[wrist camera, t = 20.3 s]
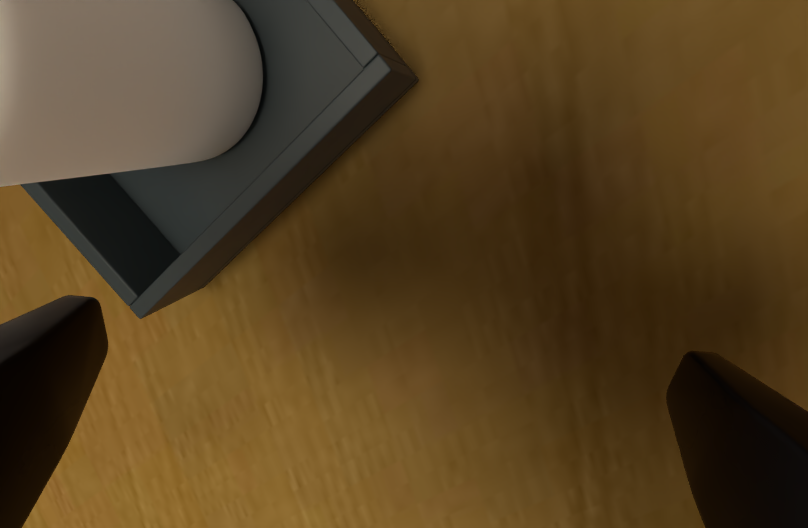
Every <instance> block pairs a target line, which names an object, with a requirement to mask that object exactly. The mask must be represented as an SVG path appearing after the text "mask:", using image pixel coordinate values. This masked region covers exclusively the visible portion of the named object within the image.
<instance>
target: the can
mask: <svg viewBox="0 0 808 528" xmlns="http://www.w3.org/2000/svg"><path fill="white" fill-rule="evenodd" d="M262 86H263V68H262V60H261V54H260V50H259V46H258V43H257V40H256V37H255V34H254V32H253V30H252V28H251V25H250V23H249V21H248V20H247V18H246V16H245V14H244V13H243V11H242V10H241V9H240V7H239V6H238V5H237V4H236V3H235V2H234V1H233V0H0V187H2V186H10V185H18V184H27V183H35V182H43V181H52V180H60V179H68V178H76V177H84V176H92V175H101V174H109V173H117V172H125V171H133V170H141V169H148V168H156V167H164V166H172V165H179V164H186V163H193V162H199V161H204V160H207V159H211V158H214V157H216V156H218V155H220V154H222V153H224V152H226V151H227V150H229V149H230V148H231V147H233V146H234V145H235V144H236V143H237V142H238V141H239V140H240V139H241V138H242V137H243V136H244V134H245V133H246V132H247V130H248V129H249V127H250V125H251V124H252V122H253V120H254V117H255V115H256V113H257V110H258V107H259V103H260V99H261V94H262Z"/></svg>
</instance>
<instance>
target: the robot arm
mask: <svg viewBox="0 0 808 528" xmlns="http://www.w3.org/2000/svg"><path fill="white" fill-rule="evenodd" d="M107 351H108V339H107V334H106V329H105V324H104V319H103V315H102V310H101V306H100V303H99V302H98V300H96V299H95V298H93V297H84V296H73V295H68V296H64V297H61V298H59V299H57V300H55V301H52V302H50V303H48V304H46V305H44V306H41V307H39V308H37V309H35V310H32V311H30V312H28V313H26V314H23V315H21V316H19V317H17V318H14V319H12V320H10V321H8V322H5V323H3V324H1V325H0V528H22V526H23V525H24V523H25V521H26V519H27V518H28V516H29V514H30V512H31V511H32V509H33V507H34V505H35V503H36V502H37V500H38V498H39V496H40V495H41V493H42V491H43V489H44V488H45V486H46V484H47V482H48V481H49V479H50V477H51V475H52V473H53V472H54V470H55V468H56V466H57V465H58V463H59V461H60V459H61V457H62V455H63V454H64V452H65V450H66V448H67V446H68V444H69V442H70V440H71V437H72V435H73V433H74V431H75V428H76V426H77V424H78V421H79V419H80V417H81V414H82V412H83V410H84V407H85V405H86V403H87V400H88V398H89V396H90V393H91V391H92V389H93V386H94V384H95V382H96V379H97V377H98V374H99V372H100V370H101V367H102V365H103V363H104V360H105V358H106V355H107ZM666 399H667V406H668V410H669V413H670V417H671V421H672V424H673V428H674V431H675V435H676V439H677V442H678V446H679V449H680V453H681V457H682V460H683V464H684V468H685V471H686V475H687V478H688V482H689V485H690V488H691V491H692V494H693V497H694V500H695V502H696V505H697V508H698V510H699V513H700V516H701V518H702V521H703V523H704V526H705V528H808V412H807V411H806V410H804V409H803V408H801V407H800V406H798V405H796V404H795V403H793V402H792V401H790V400H789V399H787V398H785V397H784V396H782V395H781V394H779V393H778V392H776V391H775V390H773V389H771V388H770V387H768V386H767V385H765V384H764V383H762V382H760V381H759V380H757V379H756V378H754V377H753V376H751V375H750V374H748V373H746V372H745V371H743V370H742V369H740V368H739V367H737V366H735V365H734V364H732V363H731V362H729V361H728V360H726V359H725V358H723V357H721V356H720V355H718V354H716V353H712V352H701V351H690V352H687V353H686V354H685V355H684V356H683V358H682V360H681V362H680V364H679V366H678V368H677V370H676V372H675V374H674V376H673V379H672V381H671V383H670V385H669V387H668V390H667V396H666Z"/></svg>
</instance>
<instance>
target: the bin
mask: <svg viewBox="0 0 808 528" xmlns="http://www.w3.org/2000/svg"><path fill="white" fill-rule="evenodd" d="M233 1H234V2H235V3H236V4H237V5H238V6H239V7H240V9H241V10H242V11H243V13H244V14H245V16H246V18H247V20H248V21H249V23H250V25H251V28H252V30H253V32H254V34H255V37H256V40H257V43H258V46H259V50H260V54H261V60H262V68H263V86H262V94H261V99H260V103H259V107H258V110H257V113H256V115H255V117H254V120H253V122H252V124H251V125H250V127H249V129H248V130H247V132H246V133H245V134H244V136H243V137H242V138H241V139H240V140H239V141H238V142H237V143H236V144H235V145H234V146H233V147H231V148H230V149H229V150H227V151H226V152H224V153H222V154H220V155H218V156H216V157H214V158H211V159H207V160H204V161H199V162H193V163H186V164H179V165H172V166H164V167H156V168H148V169H141V170H133V171H125V172H117V173H109V174H101V175H92V176H84V177H76V178H68V179H60V180H52V181H43V182H35V183H27V184H20V185H21V186H22V187H23V188H24V189H25V190H26V192H27V193H28V194H29V195H30V196H31V197H32V198H33V199H34V201H35V202H36V203H37V204H38V205H39V206H40V207H41V208H42V210H43V211H44V212H45V213H46V214H47V215H48V216H49V217H50V219H51V220H52V221H53V222H54V223H55V224H56V225H57V226H58V228H59V229H60V230H61V231H62V232H63V233H64V234H65V235H66V237H67V238H68V239H69V240H70V241H71V242H72V243H73V244H74V246H75V247H76V248H77V249H78V250H79V251H80V252H81V253H82V255H83V256H84V257H85V258H86V259H87V260H88V261H89V262H90V264H91V265H92V266H93V267H94V268H95V269H96V270H97V271H98V273H99V274H100V275H101V276H102V277H103V278H104V279H105V280H106V282H107V283H108V284H109V285H110V286H111V287H112V288H113V289H114V291H115V292H116V293H117V294H118V295H119V296H120V297H121V298H122V300H123V301H124V302H125V303H126V304H127V305H128V306H130V305H131V306H130V309H131V310H132V311H133V312H134V313H135V314H136V315H137V317H138V318H140V319H142V318H144V317H146V316H148V315H150V314H152V313H154V312H156V311H158V310H160V309H162V308H164V307H166V306H168V305H170V304H172V303H173V302H175V301H177V300H179V299H181V298H183V297H185V296H187V295H189V294H191V293H193V292H195V291H197V290H199V289H201V288H203V287H204V286H205V285H207V284H208V283H209V282H210V281H211V280H212V279H213V278H214V277H215V276H216V275H217V274H218V273H219V272H220V271H221V270H222V269H223V268H224V267H225V266H226V265H227V264H228V263H229V262H230V261H231V260H233V259H234V258H235V257H236V256H237V255H238V254H239V253H240V252H241V251H242V250H243V249H244V248H245V247H246V246H247V245H248V244H249V243H250V242H251V241H252V240H253V239H254V238H255V237H256V236H257V235H258V234H260V233H261V232H262V231H263V230H264V229H265V228H266V227H267V226H268V225H269V224H270V223H271V222H272V221H273V220H274V219H275V218H276V217H277V216H278V215H279V214H280V213H281V212H282V211H283V210H284V209H285V208H287V207H288V206H289V205H290V204H291V203H292V202H293V201H294V200H295V199H296V198H297V197H298V196H299V195H300V194H301V193H302V192H303V191H304V190H305V189H306V188H307V187H308V186H309V185H310V184H311V183H312V182H314V181H315V180H316V179H317V178H318V177H319V176H320V175H321V174H322V173H323V172H324V171H325V170H326V169H327V168H328V167H329V166H330V165H331V164H332V163H333V162H334V161H335V160H336V159H337V158H338V157H340V156H341V155H342V154H343V153H344V152H345V151H346V150H347V149H348V148H349V147H350V146H351V145H352V144H353V143H354V142H355V141H356V140H357V139H358V138H359V137H360V136H361V135H362V134H363V133H364V132H365V131H367V130H368V129H369V128H370V127H371V126H372V125H373V124H374V123H375V122H376V121H377V120H378V119H379V118H380V117H381V116H382V115H383V114H384V113H385V112H386V111H387V110H388V109H389V108H390V107H391V106H392V105H394V104H395V103H396V102H397V101H398V100H399V99H400V98H401V97H402V96H403V95H404V94H405V93H406V92H407V91H408V90H409V89H410V88H411V87H412V86H413V85H414V84H415V83H416V82H417V81H418V80H419V79H418V78H417V76H416V75H415V74H414V73H413V72H412V70H411V69H410V68H409V67H408V66H407V64H406V63H405V62H404V61H403V60H402V58H401V57H400V56H399V55H398V54H397V52H396V51H395V50H394V49H393V48H392V46H391V45H390V44H389V43H388V42H387V40H386V39H385V38H384V37H383V36H382V34H381V33H380V32H379V31H378V30H377V29H376V27H375V26H374V25H373V24H372V23H371V21H370V20H369V19H368V18H367V17H366V15H365V14H364V13H363V12H362V11H361V9H360V8H359V7H358V6H357V5H356V3H355V2H354V1H353V0H233Z"/></svg>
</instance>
